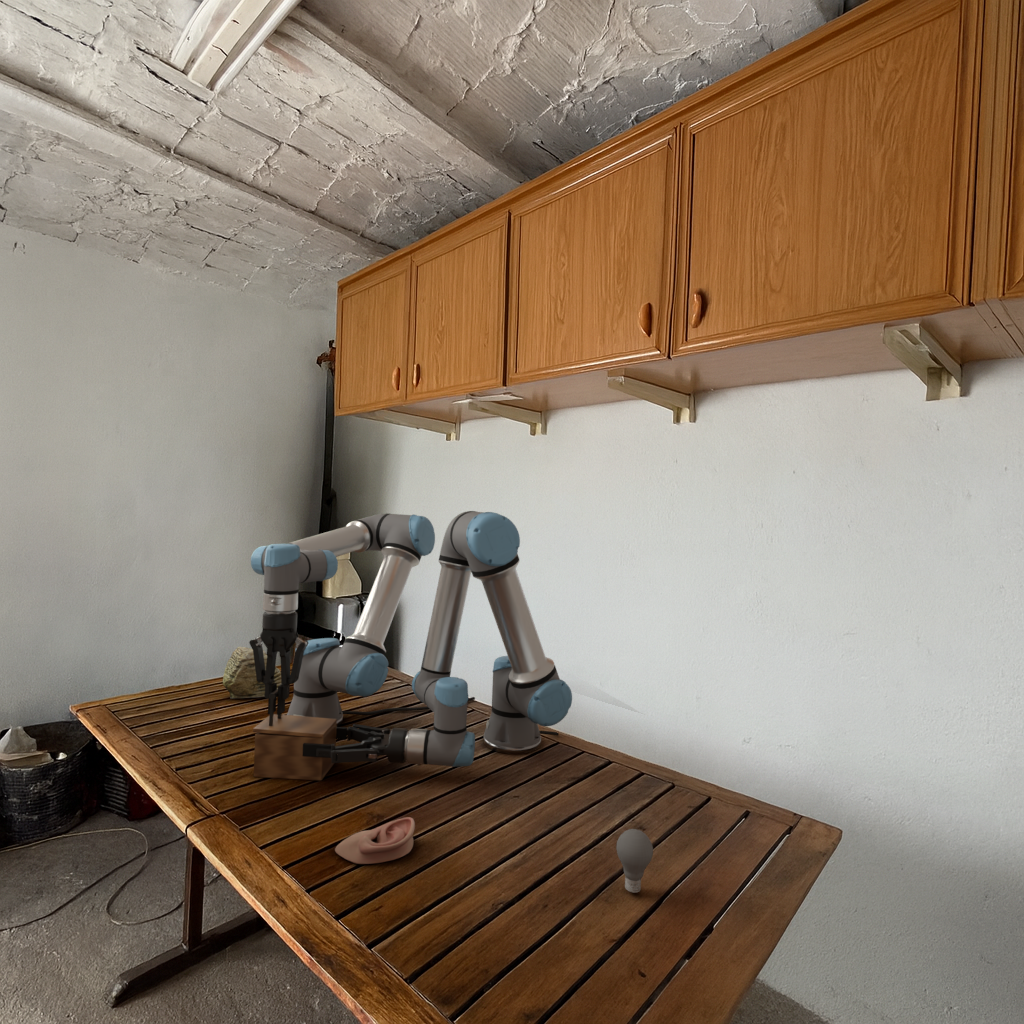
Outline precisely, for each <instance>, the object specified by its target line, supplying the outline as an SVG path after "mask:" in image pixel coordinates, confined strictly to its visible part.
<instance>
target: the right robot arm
mask: <svg viewBox="0 0 1024 1024" xmlns="http://www.w3.org/2000/svg"><path fill="white" fill-rule="evenodd" d="M443 535H444V536H443V539H442V543H441V547H440V552H439V556H438V563H439V565H440V566H441V568H440V572H439V577H438V583H437V587H436V593H435V597H434V602H433V607H432V612H431V617H430V621H429V626H428V632H427V637H426V642H425V647H424V651H423V657H422V662H421V665H420V670H419V671H418V672H417V673H416V674H415V675H414V677H413V678H412V681H411V689H412V692H413V694H414V695H415V697H416V698H417V699H418V700H419V702H421V703H423V704H424V705H425V706H426V707H429V708H430V709H429V710H431V711H432V713H433V729H426V728H425V729H424V728H411V729H408V728H401V727H394V728H392V729H391V728H383V727H375V726H369V725H364V724H358V723H353V724H352V726H347V727H345V726H337V728H336V740H341V741H346V740H347V742H350V741H352V740H353V741H355V742H358V743H351V744H343V745H336V746H335V745H334V743H333V744H313V743H304V744H303V756H306V757H323V758H331V763H334V764H344V763H360V762H361V763H362V762H363V763H364V762H368V763H369V762H370V763H377V762H378V758H379V757H382V756H386V757H387V761H388V763H390V764H391V763H392V764H404V763H407V764H410V765H411V764H412V765H416V766H419V767H420V766H421V765H430V766H445V767H452V768H454V767H456V768H457V767H458V768H459V767H462V768H463V767H470V766H472V765H473V763H474V758H475V749H476V735H475V733H474V732H472V731H468V728H467V725H468V724H467V721H468V705H469V704H468V702H469V701H468V698H469V685H468V682H467V681H466V679H463V678H459V677H457V676H451V674H452V668H453V663H454V657H455V651H456V649H457V648H456V647H457V643H458V638H459V633H460V629H461V624H462V618H463V614H464V610H465V609H464V608H465V605H466V604H465V603H466V599H467V595H468V590H469V585H470V579H471V575H472V577H473V578H475V579H476V580H479V581H481V583H482V587H483V589H484V592H485V595H486V598H487V601H488V603H489V606H490V609H491V612H492V615H493V617H494V620H495V624H496V627H497V629H498V632H499V635H500V638H501V641H502V644H503V646H504V649H505V652H506V654H507V655H503V656H499V657H497V658H495V660H494V661H493V666H492V667H493V668H492V689H491V713H490V716H489V718H488V719H486V722H485V723H486V724H485V726H486V727H485V729H484V732H483V741H482V743H483V745H484V746H485V747H486V748H487V749H489V750H492V751H494V752H498V753H502V754H507V755H508V754H509V755H520V754H521V755H522V754H528V753H532V752H534V751H537V750H538V749H540V747H541V746H542V745H541V744H542V735H549V736H559V732H558V731H550V730H540V727H539V726H541V727H552V726H555V725H557V724H558V723H560V722H562V720H564V719H565V718H566V716H567V715H568V713H569V710H570V709H571V708H572V707H571V706H572V703H573V693H572V689H571V688H570V686H569V684H567V682H566V681H564V680H563V679H561V678H560V676H559V673H558V671H557V667H556V664H555V662H554V660H553V659H552V658H551V657H547V656H546V654H545V652H544V648H543V646H542V642H541V639H540V636H539V633H538V631H537V629H536V625H535V621H534V618H533V615H532V612H531V610H530V606H529V604H528V601H527V597H526V594H525V593H524V589H523V586H522V583H521V580H520V577H519V574H518V572H517V567H518V565H519V564H520V557H519V552H518V550H519V548H520V546H521V545H520V544H521V537H520V533H519V530H518V528H517V526H516V525H515V524H514V522H513V521H512V520H511V519H510V518H508V517H507V516H505V515H502V514H499V513H498V512H493V511H485V512H484V511H475V510H467V511H463V512H461V513H459V514H457V515H456V516H455V517H453V518H452V519H451V520H450V522H449V523H448V525H447V528H446V530H445V532H444V534H443ZM557 732H558V733H557Z"/></svg>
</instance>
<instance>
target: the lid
mask: <svg viewBox="0 0 1024 1024" xmlns="http://www.w3.org/2000/svg"><path fill="white" fill-rule="evenodd" d="M275 698H276V699H277V698H278V689H276V690H275V691H273V692H272V693H271V694H270V695H269V699H271V700H270V714H268V716H267V717H266V718H264V719H262V721H261V722H259V723H258V724H257V725H255V726H254V727H253V728H252V733H269V734H282V735H294V736H306V737H318V738H323V737H324V736H325V735H326V734H327V733H328V731H329V730H330V729H331V728H332V727H333V726H334V725H335V724H336V722H337V719H330V718H318V717H305V716H293V715H287V714H283V713H282V714H281V715H277V713H275V712H274V699H275Z"/></svg>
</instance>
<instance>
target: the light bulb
mask: <svg viewBox="0 0 1024 1024" xmlns="http://www.w3.org/2000/svg"><path fill="white" fill-rule="evenodd" d="M615 849H616V854H617V857H618V859H619V861H620V863H621V865H622V867H623V873H624V874H623V875H624V876H625V878H624V888H625V890H627V891H628V892H630V893H634V894H635V893H639V892H640V891H641V889H642V887H641V886H642V879H643V877H644V875H645V871H646V868H647V867H648V866H649V864H650V863H651V861H652V859H653V855H654V847H653V843H652V841H651V838H649V836H648V835H647V834H646V833H645V832H643V831H642V830H641V829H636V828H629V829H627V830H625V831H623V832H622V833H621V834H620V835H619V837H618V839H617V841H616V847H615Z"/></svg>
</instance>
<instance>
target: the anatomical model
mask: <svg viewBox="0 0 1024 1024" xmlns="http://www.w3.org/2000/svg"><path fill="white" fill-rule="evenodd" d="M415 828H416V823H415V820H414V818H413V817H410V816H409V817H402V818H398V819H395V820H392V821H389V822H386V823H384V824H382V825H380V826H377V827H375V828H372V829H368V830H361V831H358V832H356V833H353V834H352V835H350V836H348V837H346V838H345V839H343V840H342V841H340V843H338V844H337V845H336V846H335V848H334V852H335V853H336V854H337V855H338V856H340V857H341V858H343V859H344V860H347V861H348V862H351V863H353V864H357V865H369V864H370V865H371V864H380V863H385V862H390V861H394V860H398V859H400V858H402V857H404V856H407V855H408V854H409V853H410V852H411V851H412V849H413V847H414V837H413V835H414V833H415Z"/></svg>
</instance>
